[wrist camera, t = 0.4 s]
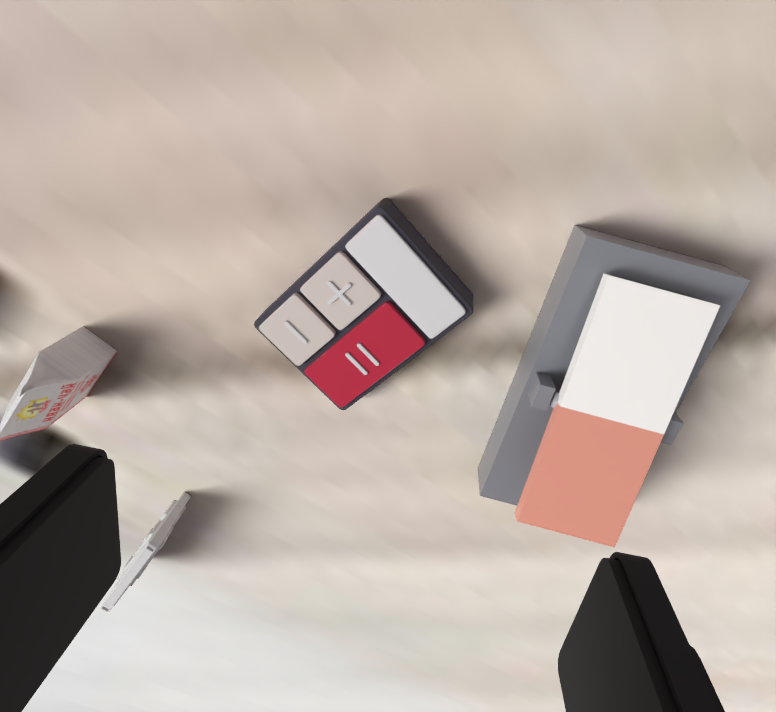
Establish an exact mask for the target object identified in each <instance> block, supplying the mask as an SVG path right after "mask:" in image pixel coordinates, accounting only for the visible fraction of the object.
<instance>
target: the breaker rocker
mask: <svg viewBox="0 0 776 712" xmlns="http://www.w3.org/2000/svg"><path fill="white" fill-rule="evenodd" d="M719 308H720V305H717V304H713V303H710V302H706V301H703V300H699V299H695V298H692V297H688V296H684V295H681V294H677V293H673V292H670V291H666V290H662V289H659V288H655V287H651V286H648V285H644V284H640V283H637V282H633V281H629V280H626V279H622V278H618V277H615V276H611V275H607V274H604V273H603V276H602V279H601V282H600V284H599V287H598V290H597V292H596V295H595V298H594V300H593V303H592V306H591V309H590V311H589V314H588V317H587V319H586V322H585V325H584V327H583V330H582V333H581V336H580V338H579V341H578V344H577V346H576V349H575V352H574V354H573V357H572V360H571V362H570V365H569V368H568V371H567V373H566V376H565V379H564V381H563V384H562V387H561V389H560V392H559V393H558V392H554V394H553V397H552V399H551V401H550V407H553V411H552V414H551V416H550V419H549V422H548V425H547V427H546V430H545V433H544V435H543V438H542V441H541V443H540V446H539V449H538V451H537V454H536V457H535V460H534V462H533V465H532V468H531V470H530V473H529V476H528V478H527V481H526V484H525V487H524V489H523V492H522V495H521V497H520V500H519V503H518V505H517V508H516V511H515V516H516V519H517V521H518V522H522V523H526V524H530V525H533V526H537V527H541V528H544V529H548V530H552V531H556V532H559V533H563V534H567V535H571V536H574V537H578V538H582V539H586V540H589V541H593V542H597V543H600V544H604V545H608V546H612V547H615V546H616V543H617V541H618V539H619V536H620V534H621V532H622V530H623V527H624V525H625V523H626V520H627V518H628V516H629V513H630V511H631V509H632V507H633V504H634V502H635V500H636V497H637V495H638V493H639V491H640V488H641V486H642V484H643V481H644V479H645V477H646V475H647V472H648V470H649V468H650V465H651V463H652V461H653V459H654V456H655V454H656V452H657V449H658V447H659V445H660V443H661V440H662V438H663V436H664V433H665V431H666V429H667V427H668V424H669V422H670V420H671V417H672V415H673V413H674V410H675V408H676V406H677V404H678V401H679V399H680V397H681V394H682V392H683V390H684V388H685V385H686V383H687V381H688V378H689V376H690V374H691V372H692V369H693V367H694V365H695V362H696V360H697V358H698V356H699V353H700V351H701V349H702V346H703V344H704V342H705V340H706V337H707V335H708V333H709V330H710V328H711V326H712V324H713V321H714V319H715V317H716V314H717V312H718V310H719Z"/></svg>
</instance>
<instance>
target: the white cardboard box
mask: <svg viewBox="0 0 776 712" xmlns="http://www.w3.org/2000/svg"><path fill="white" fill-rule="evenodd" d="M116 352H117V351H116V350H115V349H114V348H112V347H111V346H110V345H108V344H107V343H106V342H104V341H103V340H101V339H100V338H99V337H97V336H96V335H95V334H93V333H92V332H90V331H89V330H88V329H86V328H85V327H84V326H83V327H81V328H79V329H78V330H76V331H74V332H73V333H71V334H69V335H68V336H66V337H64V338H62V339H61V340H59V341H57V342H56V343H54V344H52V345H51V346H49V347H47V348H45V349H44V350H42V351H40V352H39V353H38V355H37V356H36V358H35V360H34V361H33V363H32V365H31V366H30V368H29V370H28V372H27V373H26V375H25V377H24V378H23V380H22V382H21V383H20V385H19V387H18V388H17V390H16V392H15V393H14V395H13V397H12V398H11V400H10V402H9V403H8V406H7V408H6V411H5V414H4V416H3V419H2V421H1V424H0V441H2V440H5V439H8V438H11V437H14V436H18V435H22V434H26V433H30V432H35V431H39V430H43V429H46V428H47V427H49V426H50V425H51V424H52V423H54V422H55V421H56V420H57V419H59V418H60V417H61V416H63V415H64V414H65V413H66V412H68V411H69V410H70V409H71V408H73V407H74V406H75V405H77V404H78V403H79V402H80V401H82V400H83V399H84V398H85V397H86V396H87V395H88V394H89V392H90V391H91V389H92V388H93V386H94V385H95V383H96V382H97V380H98V379H99V377H100V376H101V374H102V373H103V372H104V370H105V369H106V367H107V366H108V364H109V363H110V361H111V360H112V358H113V357H114V355H115V354H116Z"/></svg>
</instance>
